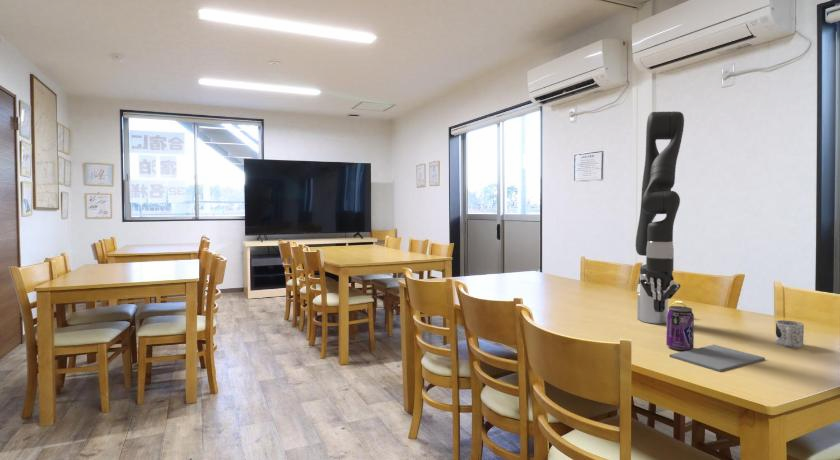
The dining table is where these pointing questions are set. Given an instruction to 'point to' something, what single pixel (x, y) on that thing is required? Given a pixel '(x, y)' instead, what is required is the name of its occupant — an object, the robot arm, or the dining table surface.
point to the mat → (717, 357)
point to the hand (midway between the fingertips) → (659, 311)
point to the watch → (679, 303)
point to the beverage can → (680, 328)
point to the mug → (789, 333)
